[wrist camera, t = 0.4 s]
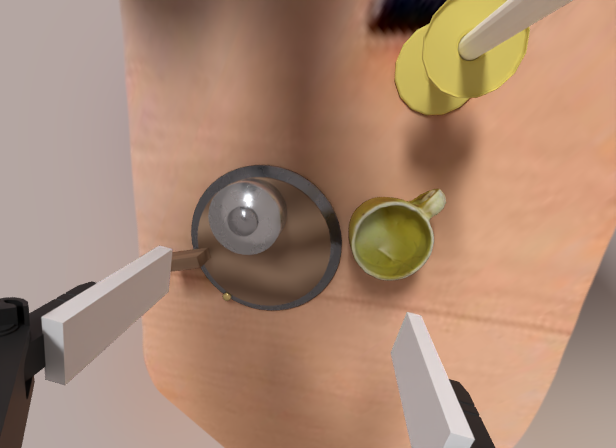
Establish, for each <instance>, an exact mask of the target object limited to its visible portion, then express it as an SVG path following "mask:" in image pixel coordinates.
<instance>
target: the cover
mask: <svg viewBox="0 0 616 448" xmlns="http://www.w3.org/2000/svg"><path fill="white" fill-rule="evenodd" d="M208 218H209V225H210V228H211V230H212V233H213V235H214V236H215V238H216V239H217V240H218V241H219V242H220V243H221V244H222V245H223V246H224V247H225V248H227V249H228V250H230V251H232V252H235V253H238V254H242V255H253V254H258V253H261V252H263V251H265V250H266V249H268V248H269V247H270V246H271V245H272V244H273V243H274V242H275V240H276V239H277V237H278V236H279V234H280V233H281V231H282V230H283V228H284V226H285V224H286V220H287V206H286V202H285V200H284V197H283V196H282V194H281V193H280V191H279V190H278V189H277V188H276V187H275V186H273V185H272V184H270V183H269V182H267V181H265V180H261V179H257V178H249V179H244V180H241V181H238V182H236V183H234V184H231V185H229V186H226V187H225V188H223V189H221V190H220V191H219V192H218V193H217V194H216V195H215V196H214V198H213V200H212V202H211V204H210V207H209V213H208Z"/></svg>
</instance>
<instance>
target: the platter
mask: <svg viewBox="0 0 616 448" xmlns="http://www.w3.org/2000/svg"><path fill="white" fill-rule="evenodd" d="M253 178H257V179H261V180H265V181H267V182H269V183H270V184H272V185H273V186H275V187H276V188H277V189H278V190H279V191H280V193H281V194H282V196H283V197H284V200H285V202H286V206H287V220H286V224H285V226H284V228H283V230H282V231H281V233H280V234H279V236H278V237H277V239H276V240H275V242H274V243H273V244H272V245H271V246H270V247H269V248H268V249H266V250H265V251H263V252H261V253H258V254H253V255H242V254H238V253H235V252H232V251H230V250H228V249H227V248H225V247H224V246H223V245H222V244H221V243H220V242H219V241H218V240H217V239H216V238H215V236H214V235H213V233H212V230H211V228H210V225H209V218H208V213H209V207H210V204H211V202H212V200H213V198H214V196H215V195H216V194H217V193H218V192H217V193H216V194H215V195H214V196H213V197H212V198H211V200H210V201H209V202H208V204H207V205H206V207H205V209H204V211H203V213H202V215H201V218H200V221H199V226H198V247H199V249H193V250H186V251H178V252H172V261H171V271H179V270H187V269H196V268H200V267H202V266H203V265H205V267H206V269H207V270H208V272H209V273H210V275H211V276H212V278H213V279H214V280H215V281H216V282H217V283H218V284H219V285H220V286H221V287H222V288H223V289H224V290H226V291H227V292H228V293H230V294H231V295H233V296H235V297H237V298H239V299H241V300H243V301H246V302H249V303H252V304H257V305H266V306H273V305H282V304H286V303H290V302H293V301H295V300H297V299H300V298H301V297H303V296H305V295H306V294H307V293H309V292H310V291H311V290H312V289H313V288H314V287H315V286H316V285H317V284H318V283H319V281H320V280H321V278H322V277H323V275H324V273H325V271H326V268H327V266H328V263H329V258H330V249H331V241H330V233H329V229H328V226H327V223H326V220H325V218H324V216H323V214H322V212H321V211H320V209H319V208H318V206H317V205H316V204H315V202H314V201H313V200H312V199H311V198H310V197H309V196H308V195H306V194H305V193H304V192H303V191H302V190H300V189H298V188H297V187H295V186H294V185H291V184H289V183H287V182H285V181H281V180H278V179H274V178H268V177H253ZM246 179H249V178H246ZM242 180H244V179H242ZM239 181H241V180H239ZM237 182H238V181H237ZM234 183H236V182H234ZM234 183H232V184H234ZM229 185H231V184H229ZM229 185H228V186H229ZM224 188H225V187H224Z"/></svg>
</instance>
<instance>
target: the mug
mask: <svg viewBox="0 0 616 448" xmlns="http://www.w3.org/2000/svg"><path fill="white" fill-rule="evenodd" d="M445 204H446V198H445V195H444V193H443V192H442V191H441V190H440V189H433V190H431V191H428V192H426V193H423V194H421V195H419V196H418V197H417V198H415V199H413V200H412V201H404V200H402V199H398V198H390V197H377V198H372V199H370V200H368V201H366V202H364V203H363V204H361V205H360V206H359V207H358V208H357V209H356V210H355V211H354V213H353V215H352V217H351V219H350V222H349V242H350V247H351V249H352V253H353V257H354V259H355V261H356V262H357V263H358V265H359V266H360V267H361V268H362V269H363V270H364V271H365V273H367V274H369V275H371V276H373V277H374V278H376V279H380V280H387V281H392V280H399V279H402V278H406V277H408V276H410V275H412V274H413V273H415V272H416V271H418V270H419V269H420V268H421V267H422V266H423V265H424V264H425V263H426V261H427V260H428V258H429V257H430V255H431V252H432V248H433V244H434V235H433V231H432V228H431V225H430V222H429V220H430V219H431V218H432V217H433V216H435V215H437V214H438V213H439V212H440V211H441V210H442V209H443V208H444V206H445Z"/></svg>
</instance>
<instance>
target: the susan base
mask: <svg viewBox="0 0 616 448" xmlns="http://www.w3.org/2000/svg"><path fill="white" fill-rule="evenodd" d="M253 177H268V178H274V179H278V180H281V181H285V182H287V183H289V184H291V185H294V186H295V187H297V188H298V189H300V190H302V191H303V192H304V193H305V194H306V195H308V196H309V197H310V198H311V199H312V200H313V201H314V202H315V204H316V205H317V206H318V208H319V209H320V211H321V212H322V214H323V216H324V218H325V220H326V223H327V226H328V229H329V233H330V241H331V249H330V258H329V263H328V266H327V268H326V271H325V273H324V275H323V277H322V278H321V280H320V281H319V283H318V284H317V285H316V286H315V287H314V288H313V289H312V290H311V291H310V292H309V293H307V294H306V295H305V296H303V297H301V298H300V299H297V300H295V301H293V302H290V303H286V304H282V305H273V306H266V305H257V304H252V303H249V302H246V301H243V300H241V299H239V298H237V297H235V296H233V295H231V294H230V293H228V292H227V291H226V290H224V289H223V288H222V287H221V286H220V285H219V284H218V283H217V282H216V281H215V280H214V279H213V278H212V276H211V275H210V273H209V272H208V270H207V269H206V267H205V265H203V266H202V267H201V269H202V271H203V272H204V274H205V275H206V277H207V278H208V279H209V280H210V281H211V283H212V284H213V285H214V286H215V287H216V288H217V289H218V290H219V291H221V292H222V293H223V294H224V295H223V299H224V300H225V301H228V300H230V298H231V299H232V300H234V301H236V302H238V303H240V304H243V305H245V306H248V307H252V308H256V309H261V310H284V309H289V308H293V307H296V306H299V305H301V304H304V303H306V302H308V301H309V300H311V299H313V298H314V297H315V296H317V295H318V294H319V293H320V292H321V291H322V290H323V289H324V288H325V287H326V286H327V285H328V283H329V282H330V281H331V279H332V278H333V276H334V274H335V272H336V270H337V267H338V264H339V260H340V256H341V245H342V240H341V230H340V226H339V222H338V219H337V216H336V214H335V211H334V209H333V208H332V206H331V204H330V202H329V201H328V200H327V198H326V197H325V195H324V194H323V193H322V192H321V191H320V190H319V189H318V188H317V187H316V186H315V185H314V184H312V183H311V182H310V181H309V180H307V179H306V178H304V177H302V176H301V175H299V174H297V173H295V172H293V171H290V170H287V169H284V168H281V167H276V166H270V165H254V166H247V167H243V168H239V169H236V170H233V171H231V172H229V173H227V174H225V175H223V176H222V177H220V178H219V179H217V180H216V181H215V182H214V183H212V184H211V185H210V186H209V188H208V189H207V190H206V191H205V192H204V194H203V195H202V197H201V198H200V200H199V202H198V204H197V206H196V209H195V212H194V215H193V220H192V230H191V236H192V244H193V249H199V247H198V226H199V221H200V218H201V215H202V213H203V211H204V209H205V207H206V205H207V204H208V202H209V201H210V200H211V198H212V197H213V196H214V195H215V194H216V193H217V192H219V191H220V190H221V189H223V188H224V187H226V186H228V185H229V184H232V183H234V182H237V181H239V180H242V179H246V178H253Z"/></svg>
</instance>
